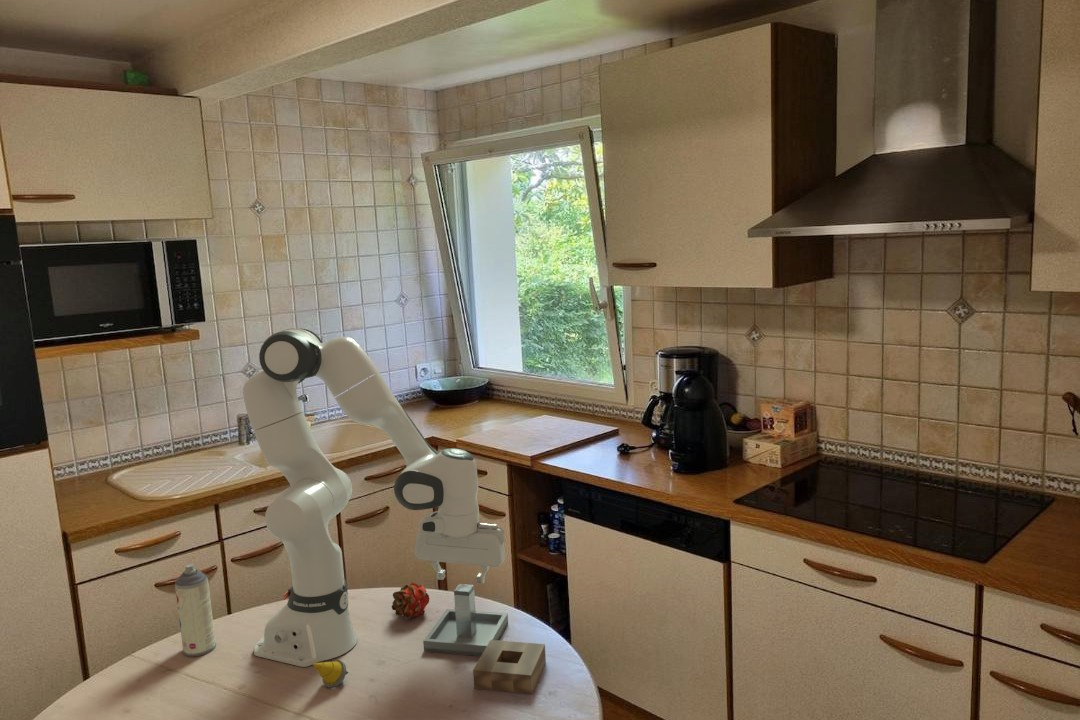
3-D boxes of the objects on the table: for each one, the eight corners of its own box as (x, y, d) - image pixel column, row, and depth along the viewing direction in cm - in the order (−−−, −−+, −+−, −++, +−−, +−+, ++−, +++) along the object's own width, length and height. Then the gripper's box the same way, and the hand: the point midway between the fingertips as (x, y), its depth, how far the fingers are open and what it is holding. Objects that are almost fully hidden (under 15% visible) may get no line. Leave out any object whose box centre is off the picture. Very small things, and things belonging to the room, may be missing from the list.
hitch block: (474, 688, 159) (472, 670, 159) (491, 657, 171) (490, 639, 170) (532, 694, 156) (531, 675, 156) (545, 661, 168) (544, 644, 167)
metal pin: (456, 636, 179) (453, 590, 177) (462, 629, 182) (459, 583, 180) (471, 638, 178) (468, 591, 176) (476, 630, 181) (473, 584, 179)
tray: (424, 651, 174) (423, 640, 174) (447, 618, 189) (446, 608, 188) (489, 656, 171) (488, 646, 170) (508, 623, 185) (507, 613, 185)
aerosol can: (190, 642, 183) (180, 560, 180) (220, 640, 183) (210, 558, 180) (178, 657, 176) (167, 573, 173) (209, 656, 177) (198, 571, 173)
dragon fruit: (400, 634, 186) (416, 617, 198) (428, 613, 185) (442, 597, 196) (379, 604, 186) (396, 589, 198) (407, 583, 185) (422, 569, 197)
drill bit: (354, 686, 163) (322, 672, 156) (333, 695, 164) (301, 681, 157) (355, 661, 166) (323, 646, 160) (334, 670, 168) (302, 655, 161)
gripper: (508, 520, 176) (509, 578, 178) (421, 513, 181) (424, 570, 183) (500, 530, 170) (501, 591, 172) (411, 523, 175) (413, 582, 177)
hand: (460, 580), depth 178 cm, fingers open, 8 cm apart
